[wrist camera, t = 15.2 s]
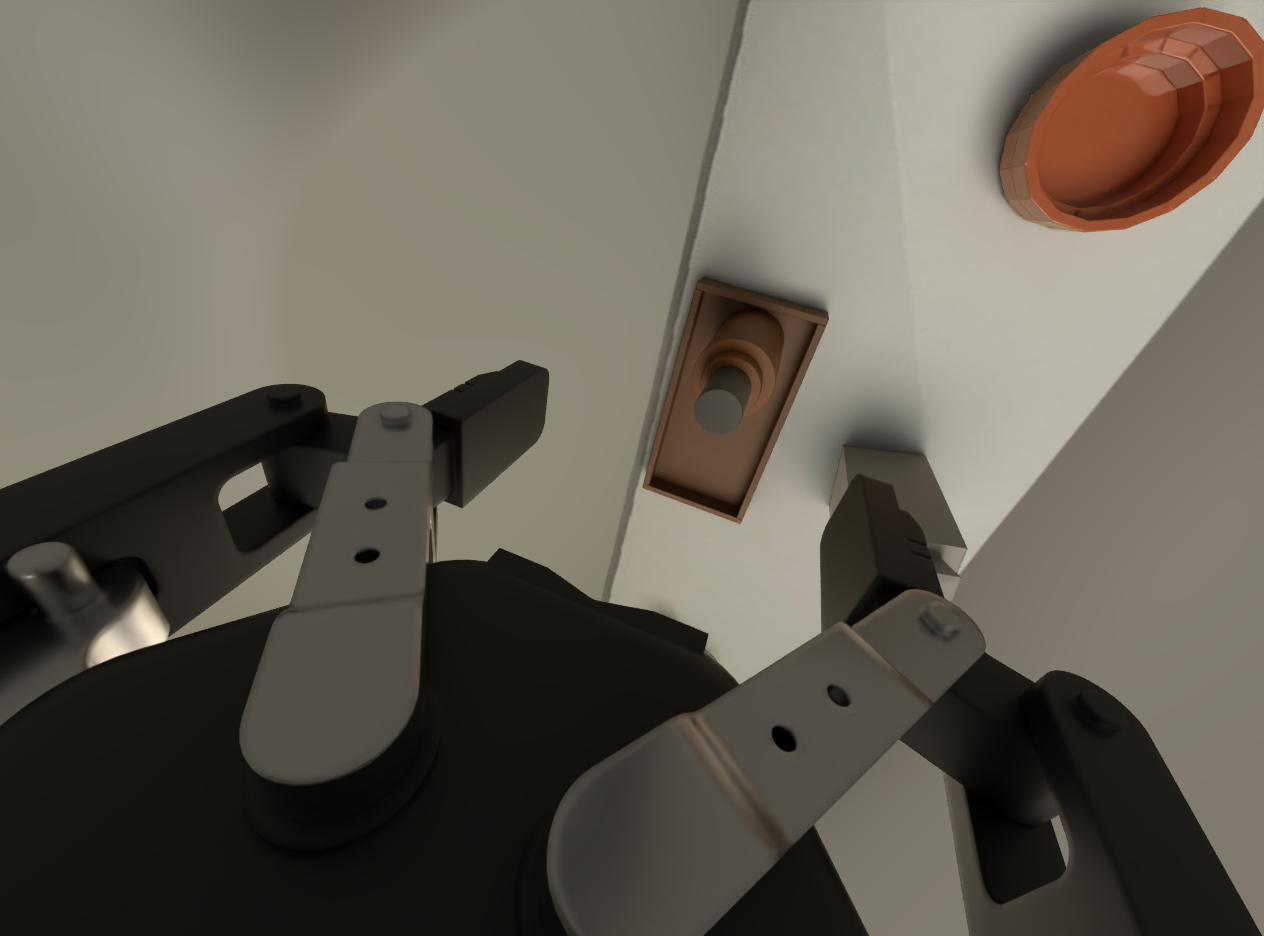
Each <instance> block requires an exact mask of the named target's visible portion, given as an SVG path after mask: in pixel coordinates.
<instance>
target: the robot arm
mask: <svg viewBox="0 0 1264 936" xmlns="http://www.w3.org/2000/svg"><path fill="white" fill-rule="evenodd" d="M548 386H549V372H548V370H547V369H546V368H543V367H540V366H536V365H534V364H531V363H528V362H525V361H522V360H518V361H516V362H515V363H513V364H511V365H509V366H508V367H506V368H504V369H502V370H500V371H499V372H498V371H495V372H490V373H486V374H481V375H477V376H476V377H474V378H472V379H470V380H468V381H466V382H465V384H461V385H459V386H457V387H456V388H454V390H450V391H448V392H446V393H444V394H442V395H441V396H439V397H437V398H435V399H433V400H431V401H429V402H428V403H426V404H424V405H422V406H420V405H417V404H413V403H408V402H386V403H380V404H376V405H373V406H371V407H368V408H367V409H365V410H363V411H362V412H361V413H360V415H359V417H357V416H351V415H345V414H338V413H332V412H328V410H327V405H326V400H325V395H324V394H323V392H321V391H320V390H318V389H316V388H314V387H311V386H306V385H300V384H279V385H271V386H266V387H262V388H259V389H256V390H253V391H251V392H248V393H246V394H243V395H240V396H238V397H236V398H233V399H230V400H228V401H225V402H223V403H220V404H218V405H215V406H213V407H210V408H207V409H205V410H202V411H200V412H197V413H194V414H192V415H189V416H187V417H184V418H182V419H179V420H176V421H174V422H171V423H169V424H167V425H164V426H161V427H159V428H156V429H153V430H151V431H148V432H146V433H143V434H141V435H138V436H135V437H133V438H130V439H128V440H125V441H123V442H120V443H117V444H115V445H112V446H110V447H107V448H105V449H102V450H100V451H97V452H94V453H92V454H89V455H87V456H84V457H82V458H79V459H77V460H74V461H71V462H69V463H66V464H64V465H61V466H59V467H56V468H53V469H51V470H48V471H46V472H43V473H41V474H38V475H35V476H33V477H30V478H28V479H25V480H23V481H20V482H18V483H15V484H12V485H10V486H7V487H5V488H2V489H0V936H869V935H868V933H867V931H866V929H865V927H864V925H863V923H862V921H861V919H860V917H859V915H858V913H857V911H856V909H855V907H854V905H853V903H852V901H851V899H850V897H849V895H848V893H847V891H846V889H845V887H844V885H843V883H842V881H841V879H840V877H839V875H838V873H837V870H836V868H835V866H834V864H833V863H832V861H831V858H830V856H829V854H828V852H827V850H826V848H825V846H824V844H823V843H822V840H821V838H820V836H819V834H818V832H817V830H816V828H815V826H814V824H815V823H816V822H817V821H818V819H820V818H821V816H823V815H824V814H825V813H826V812H827V811H828V809H830V807H832V806H833V805H834V804H835V802H837V801H838V799H840V798H841V797H842V796H843V795H844V794H845V793H846V792H847V791H848V790H849V789H850V788H851V787H852V786H853V785H854V784H855V782H857V781H858V780H859V779H860V778H861V777H862V776H863V775H864V773H866V772H867V770H869V769H870V768H871V767H872V766H873V764H875V763H876V762H877V761H878V760H879V759H880V758H881V757H882V756H883V754H885V753H886V751H888V750H889V749H890V748H891V747H892V746H893V745H894V744H895V743H896V741H897V740H901V741H902V742H903V743H905V744H906V745H908V746H909V747H910V748H912V749H913V750H915V751H916V752H917V753H919V754H920V755H921V756H923V757H924V758H926V759H927V760H928V761H930V762H931V763H932V764H934V765H935V766H937V767H938V768H939V769H941V770H942V771H943V777H944V783H945V789H946V795H947V802H948V807H949V814H950V820H951V826H952V832H953V838H954V845H955V851H956V857H957V863H958V869H959V875H960V881H961V888H962V894H963V900H964V906H965V912H966V918H967V924H968V930H969V936H1262V935H1261V933H1260V931H1259V929H1258V928H1257V926H1256V924H1255V922H1254V921H1253V919H1252V917H1251V915H1250V913H1249V911H1248V910H1247V908H1246V906H1245V904H1244V903H1243V901H1242V899H1241V897H1240V895H1239V894H1238V892H1237V890H1236V889H1235V887H1234V885H1233V883H1232V881H1231V880H1230V878H1229V876H1228V874H1227V872H1226V871H1225V869H1224V867H1223V865H1222V863H1221V862H1220V860H1219V858H1218V856H1217V855H1216V853H1215V851H1214V849H1213V847H1212V846H1211V844H1210V842H1209V840H1208V839H1207V837H1206V835H1205V833H1204V832H1203V830H1202V828H1201V826H1200V824H1199V823H1198V821H1197V819H1196V817H1195V816H1194V814H1193V812H1192V810H1191V808H1190V807H1189V805H1188V803H1187V801H1186V799H1185V798H1184V796H1183V794H1182V792H1181V791H1180V789H1179V787H1178V785H1177V783H1176V782H1175V780H1174V778H1173V776H1172V775H1171V773H1170V771H1169V769H1168V768H1167V766H1166V764H1165V762H1164V760H1163V758H1162V757H1161V755H1160V753H1159V752H1158V750H1157V748H1156V746H1155V744H1154V742H1153V741H1152V739H1151V737H1150V736H1149V734H1148V732H1147V731H1146V729H1145V728H1144V727H1143V725H1142V724H1141V723H1140V721H1139V720H1138V719H1137V718H1136V717H1135V716H1134V715H1133V714H1132V713H1131V712H1130V711H1129V710H1128V709H1127V708H1126V707H1125V706H1124V705H1123V704H1122V703H1121V702H1119V701H1118V700H1117V699H1116V698H1115V697H1113V696H1112V695H1111V694H1109V693H1108V692H1106V691H1105V690H1104V689H1102V688H1100V687H1099V686H1097V685H1095V684H1094V683H1092V682H1090V681H1089V680H1086V679H1085V678H1083V677H1080V676H1078V675H1075V674H1072V673H1070V672H1065V671H1057V670H1055V671H1050V672H1048V673H1046V674H1045V675H1044V676H1043V677H1042V678H1040V679H1039V680H1038V681H1037V682H1036V683H1034V682H1033V681H1031V680H1029V679H1028V678H1026V677H1024V676H1023V675H1021V674H1019V673H1018V672H1016V671H1014V670H1013V669H1011V668H1009V667H1007V666H1006V665H1004V664H1002V663H1001V662H999V661H997V660H996V659H994V658H993V657H991V656H989V655H988V654H987V653H985V649H986V643H985V639H984V636H983V634H982V632H981V631H980V629H979V628H978V626H977V625H976V624H975V622H974V621H973V620H972V619H971V618H970V617H969V616H968V615H967V614H966V613H965V612H964V611H962V610H961V609H960V608H959V607H957V606H956V605H954V604H953V603H952V602H950V601H948V600H946V599H945V598H944V595H943V592H942V589H941V585H940V582H939V579H938V576H937V573H936V570H935V567H934V564H933V561H931V558H932V557H931V554H930V551H929V548H928V547H927V542H926V539H925V536H924V533H923V529H922V528H921V527H920V525H919V524H918V523H917V522H916V521H915V519H914V518H913V517H912V516H911V515H910V513H909V512H907V511H904V510H901V509H899V505H898V502H897V498H896V494H895V491H894V487H893V485H892V484H889V483H886V482H883V481H880V480H877V479H874V478H871V477H868V476H865V475H862V474H857V475H856V476H855V477H854V478H853V480H852V481H851V483H850V484H849V486H848V488H847V490H846V491H845V493H844V495H843V497H842V498H841V500H840V502H839V504H838V505H837V507H836V509H835V511H834V512H833V514H832V516H831V518H830V519H829V521H828V523H827V525H826V527H825V530H824V532H823V535H822V539H821V543H820V575H821V633H820V634H819V635H817V636H816V637H814V638H813V639H811V640H809V641H808V642H806V643H805V644H803V645H801V646H800V647H798V648H797V649H795V650H794V651H792V652H790V653H789V654H787V655H786V656H784V657H783V658H781V659H779V660H778V661H776V662H775V663H773V664H772V665H770V666H768V667H767V668H765V669H764V670H762V671H760V672H759V673H757V674H756V675H754V676H753V677H751V678H749V679H748V680H746V681H745V682H743V683H742V684H740V685H739V683H738V682H737V681H736V680H735V678H734V677H733V676H732V675H731V674H730V673H729V672H728V671H727V670H726V669H725V668H724V667H723V666H721V665H720V664H719V663H718V662H717V661H716V660H714V659H713V658H712V657H711V656H709V655H708V654H706V653H705V652H704V651H705V647H706V642H707V638H708V633H705V632H703V631H700V630H698V629H695V628H693V627H691V626H688V625H686V624H683V623H681V622H678V621H676V620H674V619H671V618H669V617H666V616H664V615H661V614H659V613H657V612H654V611H649V610H644V609H638V608H633V607H628V606H622V605H617V604H612V603H606V602H601V601H597V600H594V599H592V598H590V597H588V596H587V595H586V594H584V593H583V592H581V591H580V590H579V589H577V588H576V587H574V586H573V585H572V584H570V583H568V582H567V581H566V580H564V579H563V578H562V577H560V576H559V575H557V574H556V573H555V572H553V571H552V570H550V569H549V568H547V567H545V566H542V565H540V564H538V563H535V562H533V561H530V560H528V559H525V558H523V557H521V556H518V555H515V554H513V553H511V552H508V551H506V550H504V549H501V548H499V549H498V550H497V551H496V552H495V553H494V555H493V556H492V557H491V558H490V559H489V560H488V561H487V562H485V561H477V560H450V561H440V562H437V527H438V524H437V523H438V522H437V520H438V515H437V506H438V505H439V504H440V503H441V502H443V501H446V502H448V503H450V504H453V505H456V506H458V507H460V508H463V507H465V506H466V505H467V504H468V503H469V502H470V501H471V500H472V499H474V498H475V497H476V496H477V495H478V494H479V493H480V492H481V491H482V490H484V489H485V488H486V487H487V486H488V485H489V484H490V483H491V482H493V481H494V480H495V479H496V478H497V477H498V476H499V475H500V474H501V473H503V472H504V471H505V470H506V469H507V468H508V467H509V466H510V465H512V464H513V463H514V462H515V461H516V460H517V459H518V458H519V457H520V456H522V455H523V454H524V453H525V452H526V451H527V450H528V449H529V448H530V447H532V446H533V445H534V444H535V443H536V442H537V440H538V439H539V437H540V435H541V433H542V431H543V428H544V423H545V414H546V405H547V395H548ZM260 462H261V463H262V466H263V469H264V473H265V476H266V480H267V483H268V485H267V486H265V487H263V488H262V489H260V490H258V491H256V492H255V493H253V494H251V495H250V496H248V497H246V498H244V499H243V500H241V501H239V502H238V503H236V504H235V505H233V506H231V507H229V508H228V509H226V510H224V511H221V508H220V506H219V503H218V496H219V493H220V490H221V488H222V487H223V485H224V484H225V483H226V482H227V481H228V480H229V479H231V478H232V477H234V476H236V475H238V474H240V473H242V472H243V471H245V470H247V469H249V468H251V467H253V466H255V465H257V464H258V463H260ZM310 532H312V533H311V537H310V540H309V544H308V547H307V550H306V553H305V556H304V560H303V563H302V566H301V570H300V573H299V576H298V579H297V583H296V586H295V589H294V593H293V596H292V599H291V602H290V604H289V605H286V606H283V607H279V608H276V609H273V610H269V611H266V612H263V613H259V614H256V615H253V616H249V617H246V618H242V619H239V620H236V621H232V622H229V623H226V624H222V625H219V626H215V627H212V628H208V629H205V630H202V631H199V632H195V633H191V634H188V635H185V636H182V637H178V638H175V639H172V640H168V641H166V640H167V638H168V637H170V636H171V635H172V634H173V633H175V632H176V631H178V630H179V629H180V628H182V627H183V626H184V625H186V624H187V623H188V622H190V621H191V620H192V619H194V618H195V617H196V616H198V615H199V614H201V613H202V612H203V611H205V610H206V609H207V608H209V607H210V606H211V605H213V604H214V603H216V602H217V601H218V600H219V599H221V598H222V597H223V596H225V595H226V594H228V593H229V592H230V591H232V590H233V589H234V588H236V587H237V586H239V584H241V583H243V582H244V581H245V580H247V579H248V578H249V577H251V576H252V575H253V574H255V573H256V572H257V571H259V570H260V569H261V568H263V567H264V566H265V565H267V564H268V563H270V562H271V561H272V560H274V559H275V558H276V557H278V556H279V555H280V554H282V553H283V552H285V551H286V550H287V549H288V548H290V547H291V546H293V545H294V544H295V543H297V542H298V541H299V540H301V539H302V538H303V537H305V536H306V535H307V534H309V533H310ZM1058 815H1059V817H1060V819H1061V823H1062V826H1063V829H1064V831H1065V834H1066V838H1067V841H1068V846H1069V860H1068V865H1067V868H1066V866H1065V863H1064V859H1063V856H1062V853H1061V851H1060V847H1059V844H1058V841H1057V838H1056V835H1055V832H1054V829H1053V826H1052V823H1051V819H1052V818H1054V817H1056V816H1058Z"/></svg>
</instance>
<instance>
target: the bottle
mask: <svg viewBox="0 0 1264 936" xmlns="http://www.w3.org/2000/svg"><path fill="white" fill-rule="evenodd" d="M783 346H784V333H783V329H782V327H781V324H780V323H779V321H778V320H777V319H776V318H775V317H774V316H773V315H772V314H771V313H769V312H767V311H765V310H762V309H758V308H747V309H743V310H740V311H738V312H736V313H734V314H733V315H731V316H730V317H729V318H728V319H727V320H726V321H725V323H724V324H723V325H722V327H721V328H720V329H719V331H718V332H717V333H716V335H715V336H714V337H713V339H712V340H711V341H710V343H709V344H708V345H707V347H706V348H705V349H704V351H703V352H702V353H701V354H700V356H699V357H698V359H697V361H696V363H695V366H694V369H693V378H692V380H693V387H694V390H695V393H696V395H697V397H698V399H697V401H696V403H695V407H694V415H695V418H696V420H697V422H698V424H699V425H700V426H701V427H702V428H703V429H704V430H706V431H708V432H710V433H713V434H726V433H729V432H731V431H733V430H734V429H736V428H737V427H738V425H739V424H740V422H741V420H742V417H745V416H749V415H751V414H753V413H755V412H757V411H759V410H760V409H761V408H762V407H763V406H764V405H765V404H766V403H767V402H768V401H769V399H770V398H771V396H772V394H773V391H774V388H775V384H776V379H777V374H778V369H779V365H780V360H781V355H782V350H783Z"/></svg>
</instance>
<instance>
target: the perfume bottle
mask: <svg viewBox="0 0 1264 936" xmlns="http://www.w3.org/2000/svg"><path fill="white" fill-rule="evenodd" d="M857 474H862V475H865V476H868V477H871V478H874V479H877V480H880V481H883V482H886V483H889V484H892V485H893V487H894V491H895V494H896V498H897V502H898V505H899V509H901V510H904V511H907V512H909V513H910V515H911V516H912V517H913V518H914V519H915V521H916V522H917V523H918V524H919V525H920V527H921V528H922V529H923V533H924V536H925V539H926V542H927V547H928V548H929V551H930V554H931V557H932V558H931V561H933V564H934V567H935V570H936V573H937V576H938V579H939V582H940V585H941V589H942V592H943V595H944V598H945V599H946V600H948V601H950V602H951V600H952V598H953V595H954V593H955V591H956V589H957V586H958V584H959V582H960V579H961V577H960V576H959V575H958V574H957V573H958V570H959V568H960V565H961V563H962V561H963V558H964V556H965V554H966V551H967V547H966V544H965V542H964V540H963V538H962V535H961V533H960V531H959V529H958V527H957V524H956V522H955V520H954V518H953V516H952V513H951V511H950V509H949V507H948V504H947V502H946V500H945V498H944V496H943V493H942V491H941V489H940V487H939V484H938V482H937V480H936V478H935V476H934V473H933V471H932V469H931V467H930V465H929V462H928V460H927V458H926V456H923V455H915V454H906V453H898V452H889V451H881V450H873V449H864V448H856V447H848V446H843V449H842V453H841V458H840V462H839V466H838V471H837V475H836V480H835V484H834V488H833V493H832V497H831V502H830V506H829V511H830V518H831V516H832V514H833V512H834V511H835V509H836V507H837V505H838V504H839V502H840V500H841V498H842V497H843V495H844V493H845V491H846V490H847V488H848V486H849V484H850V483H851V481H852V480H853V478H854V477H855V476H856V475H857Z"/></svg>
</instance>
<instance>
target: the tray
mask: <svg viewBox="0 0 1264 936" xmlns="http://www.w3.org/2000/svg"><path fill="white" fill-rule="evenodd" d="M747 308H758V309H762V310H765V311H767V312H769V313H771V314H772V315H773V316H774V317H775V318H776V319H777V320H778V321H779V323H780V324H781V327H782V329H783V333H784V346H783V350H782V355H781V360H780V365H779V369H778V374H777V379H776V384H775V388H774V391H773V394H772V396H771V398H770V399H769V401H768V402H767V403H766V404H765V405H764V406H763V407H762V408H761V409H760V410H759V411H757V412H755V413H753V414H751V415H749V416H745V417H742V420H741V422H740V424H739V425H738V427H737V428H736V429H734V430H733V431H731V432H729V433H726V434H713V433H710V432H708V431H706V430H704V429H703V428H702V427H701V426H700V425H699V424H698V422H697V420H696V418H695V415H694V407H695V403H696V401H697V399H698V397H697V395H696V393H695V390H694V387H693V380H692V378H693V369H694V366H695V363H696V361H697V359H698V357H699V356H700V354H701V353H702V352H703V351H704V349H705V348H706V347H707V345H708V344H709V343H710V341H711V340H712V339H713V337H714V336H715V335H716V333H717V332H718V331H719V329H720V328H721V327H722V325H723V324H724V323H725V321H726V320H727V319H728V318H729V317H730V316H731V315H733V314H734V313H736V312H738V311H740V310H743V309H747ZM828 320H829V317H828V312H825V311H821V310H817V309H814V308H810V307H807V306H803V305H800V304H796V303H793V302H789V301H786V300H782V299H778V298H775V297H771V296H768V295H764V294H761V293H757V292H754V291H750V290H746V289H743V288H739V287H736V286H732V285H729V284H725V283H722V282H718V281H715V280H711V279H707V278H702V279H700V280H699V281H697V284H696V289H695V292H694V295H693V299H692V303H691V307H690V310H689V314H688V318H687V322H686V325H685V329H684V333H683V337H682V340H681V344H680V348H679V352H678V355H677V359H676V363H675V367H674V370H673V374H672V378H671V382H670V385H669V389H668V393H667V397H666V400H665V404H664V408H663V412H662V416H661V419H660V423H659V427H658V431H657V434H656V438H655V442H654V446H653V449H652V453H651V457H650V461H649V464H648V468H647V472H646V476H645V479H644V483H643V488H644V489H647V490H650V491H652V492H655V493H658V494H660V495H663V496H666V497H669V498H671V499H674V500H677V501H679V502H682V503H685V504H687V505H690V506H693V507H696V508H698V509H701V510H704V511H706V512H709V513H712V514H714V515H717V516H720V517H722V518H725V519H728V520H731V521H733V522H736V523H739V524H741V522H742V519H743V517H744V515H745V513H746V510H747V508H748V506H749V503H750V501H751V499H752V496H753V494H754V492H755V489H756V487H757V485H758V482H759V480H760V478H761V475H762V473H763V471H764V469H765V466H766V464H767V462H768V459H769V457H770V455H771V452H772V450H773V448H774V445H775V443H776V441H777V438H778V436H779V434H780V431H781V429H782V427H783V424H784V422H785V420H786V418H787V415H788V413H789V411H790V408H791V406H792V404H793V401H794V399H795V397H796V394H797V392H798V390H799V387H800V385H801V383H802V380H803V378H804V376H805V374H806V371H807V369H808V367H809V364H810V362H811V360H812V357H813V355H814V353H815V350H816V348H817V346H818V343H819V341H820V339H821V336H822V334H823V332H824V330H825V327H826V325H827V322H828Z"/></svg>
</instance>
